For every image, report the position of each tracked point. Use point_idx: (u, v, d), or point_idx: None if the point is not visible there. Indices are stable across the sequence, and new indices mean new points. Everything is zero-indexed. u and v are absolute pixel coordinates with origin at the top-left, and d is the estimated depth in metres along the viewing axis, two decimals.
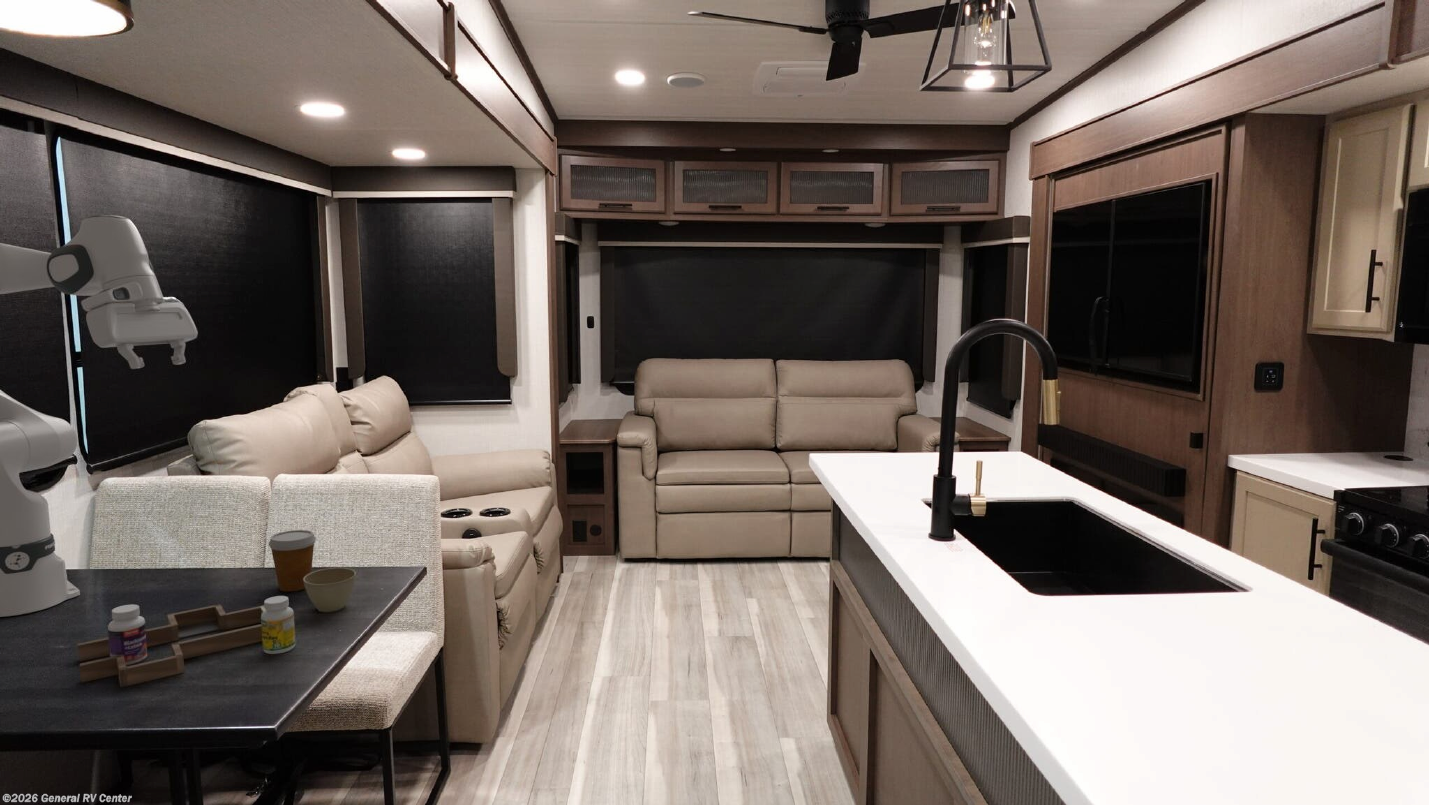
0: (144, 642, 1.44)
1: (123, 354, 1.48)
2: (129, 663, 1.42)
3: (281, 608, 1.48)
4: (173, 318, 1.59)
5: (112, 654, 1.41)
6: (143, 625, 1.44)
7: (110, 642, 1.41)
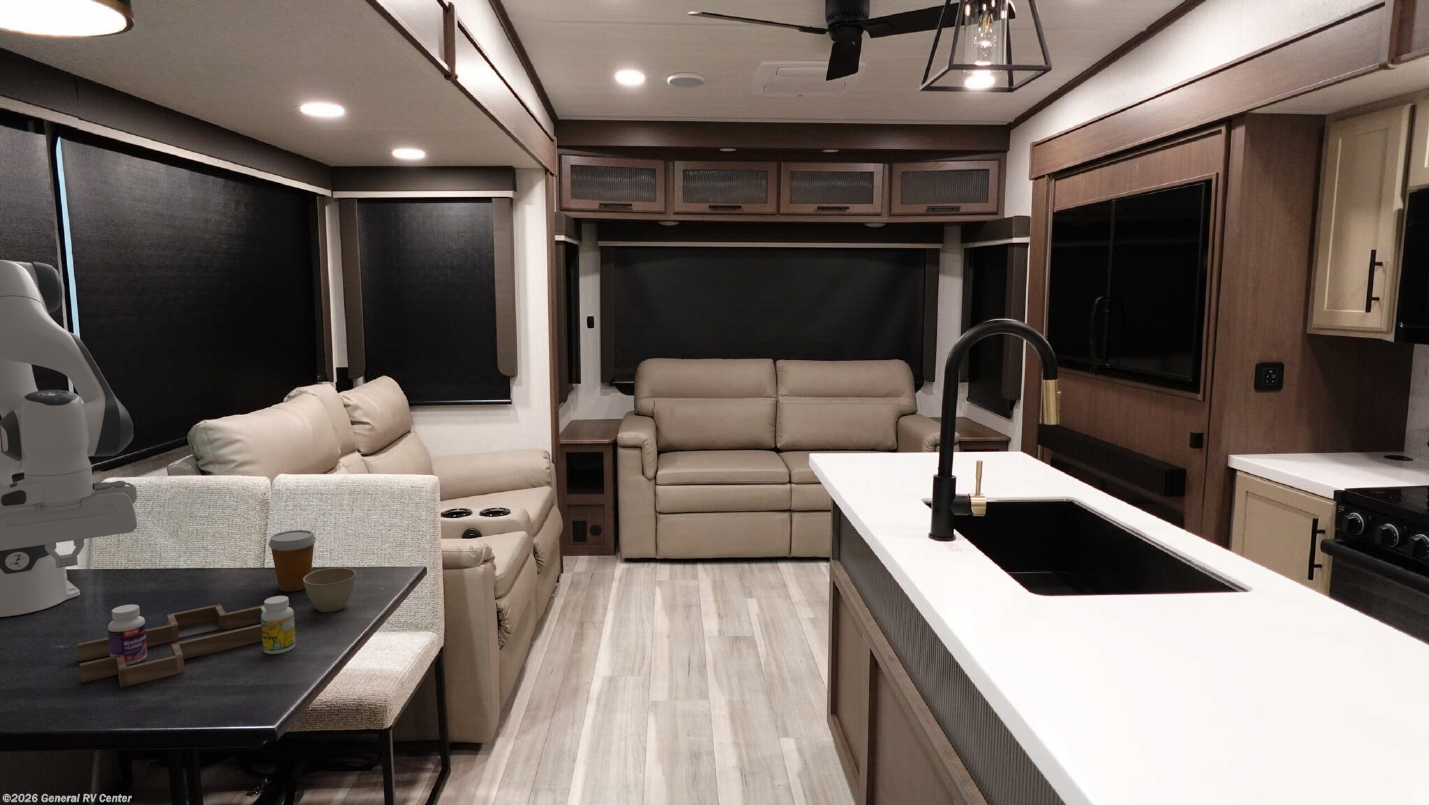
0: (144, 642, 1.44)
1: None
2: (129, 663, 1.42)
3: (281, 608, 1.48)
4: (102, 511, 1.38)
5: (112, 654, 1.41)
6: (143, 625, 1.44)
7: (110, 642, 1.41)
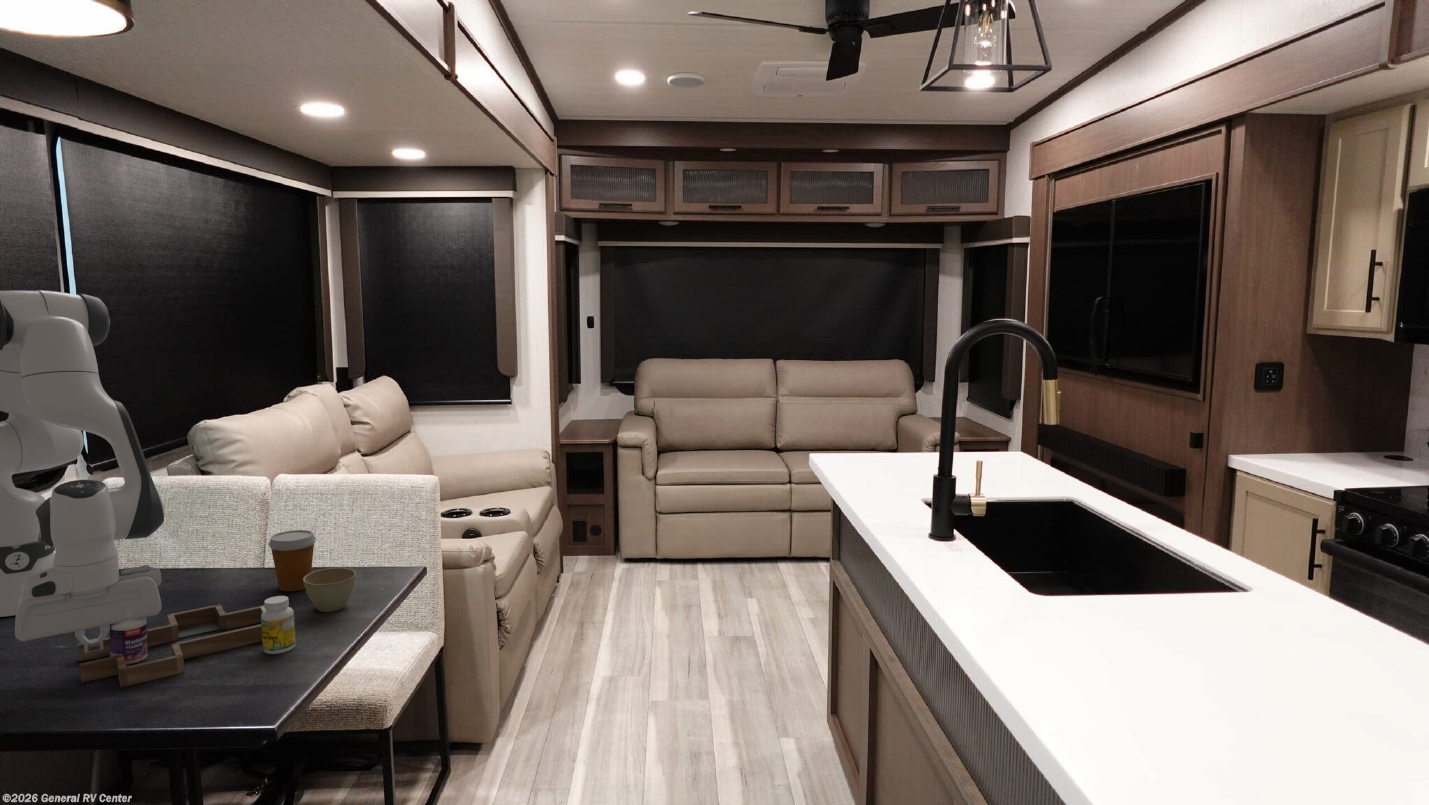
0: (145, 642, 1.44)
1: None
2: (129, 662, 1.42)
3: (281, 608, 1.48)
4: (128, 597, 1.41)
5: (112, 653, 1.41)
6: (145, 625, 1.44)
7: (111, 641, 1.41)
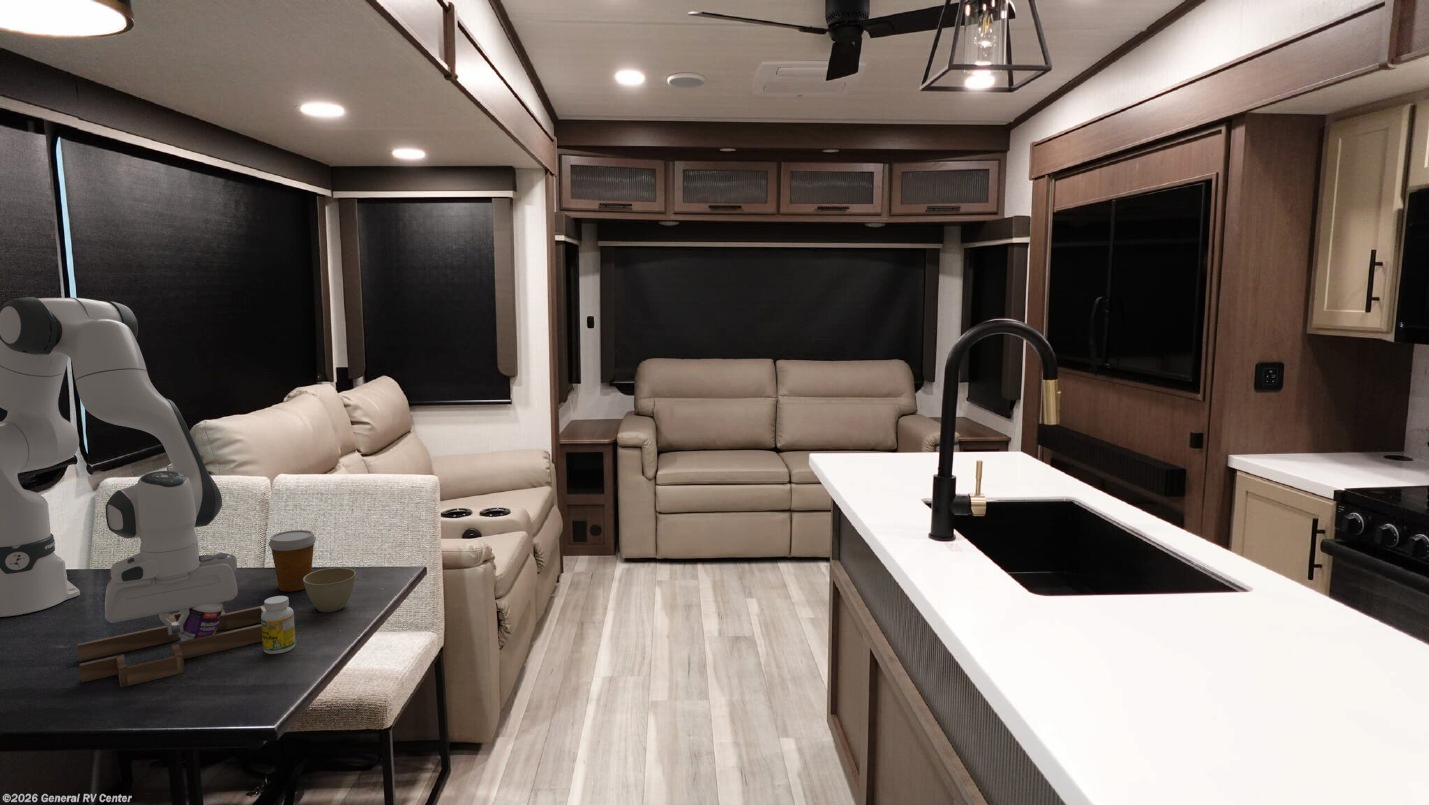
0: (216, 627, 1.51)
1: None
2: None
3: (281, 608, 1.48)
4: (207, 582, 1.49)
5: (186, 632, 1.48)
6: (221, 611, 1.51)
7: (188, 620, 1.48)
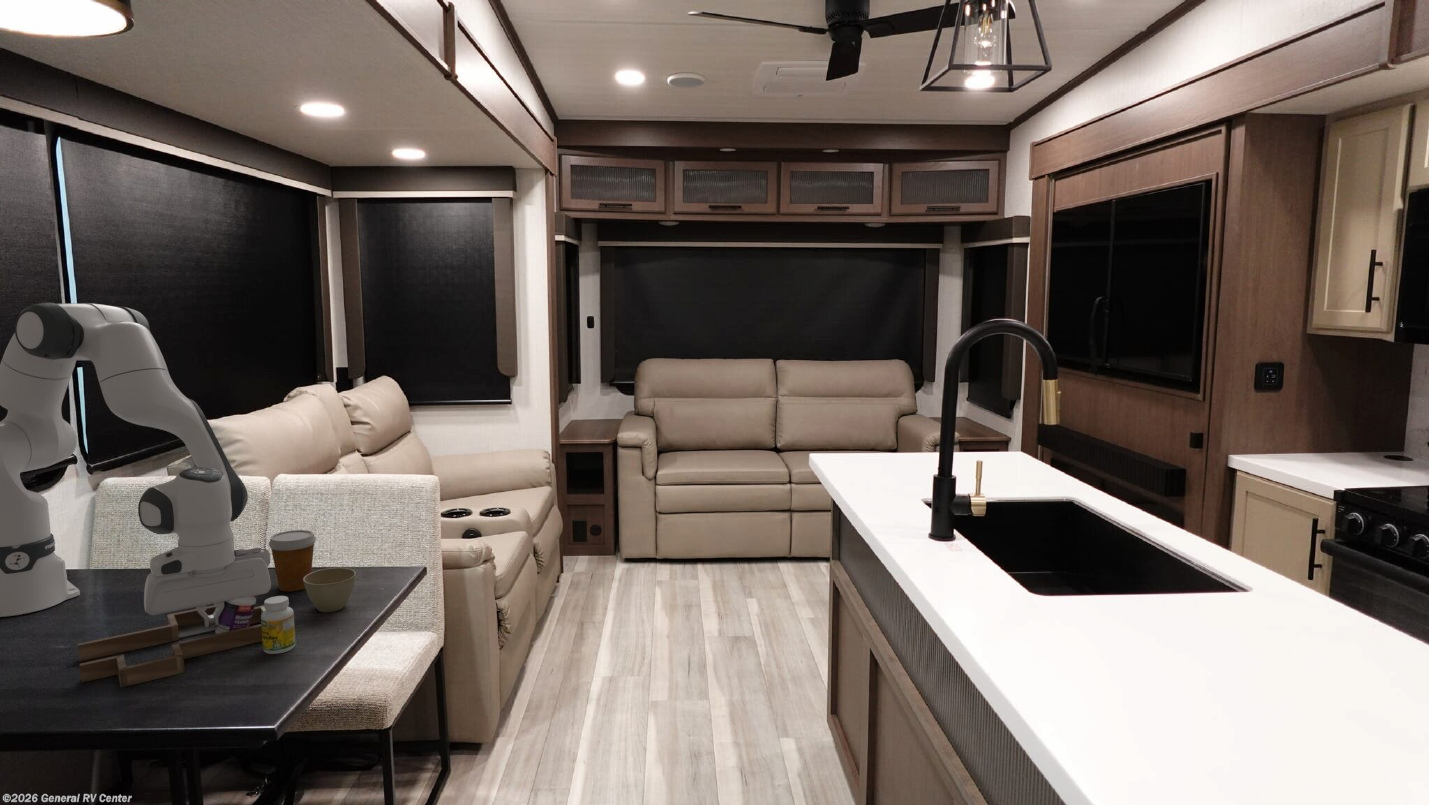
0: (249, 620, 1.55)
1: None
2: None
3: (281, 608, 1.48)
4: (242, 576, 1.52)
5: (220, 624, 1.51)
6: (254, 604, 1.55)
7: (223, 613, 1.52)
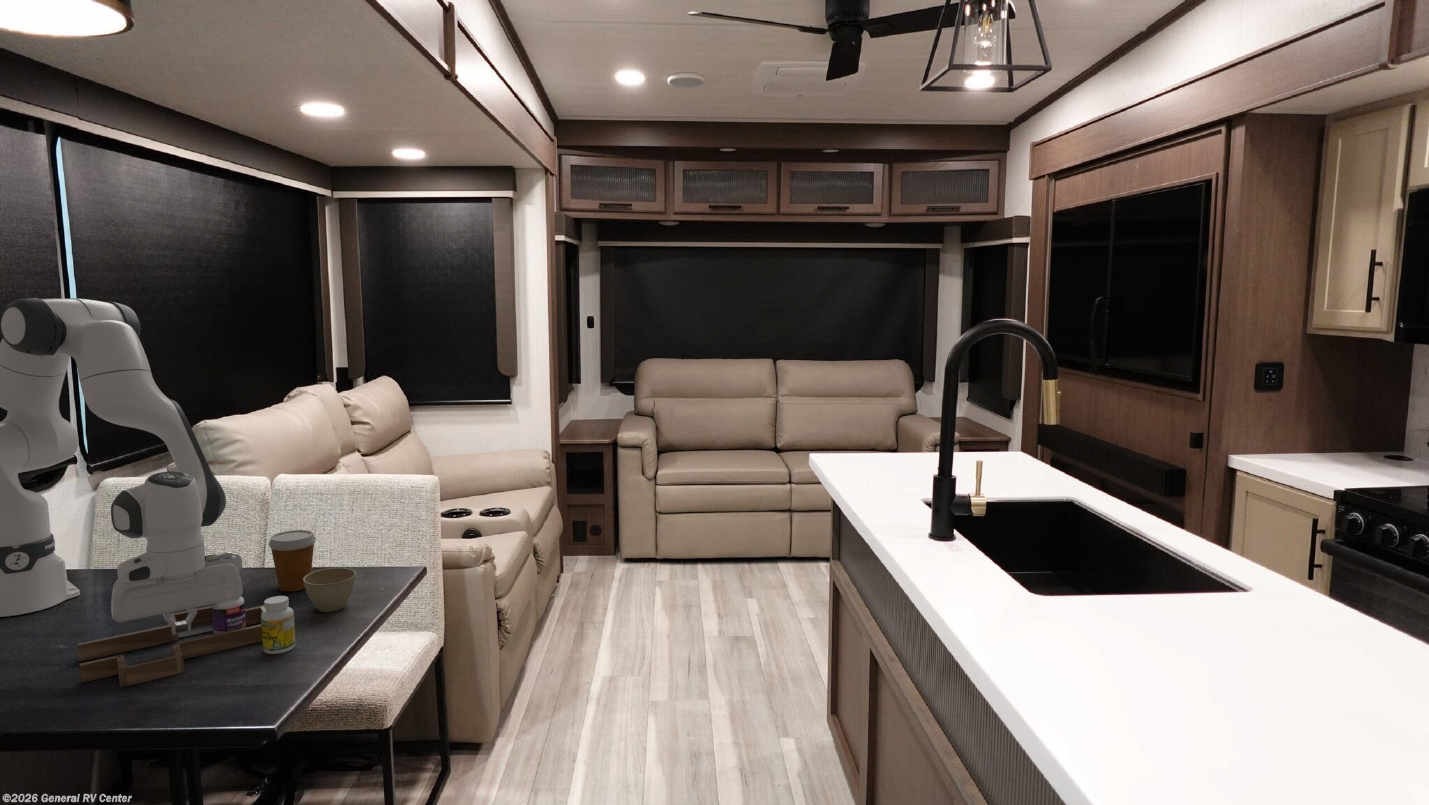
0: (244, 620, 1.54)
1: None
2: None
3: (281, 608, 1.48)
4: (213, 582, 1.50)
5: (215, 631, 1.51)
6: (243, 604, 1.54)
7: (214, 619, 1.51)
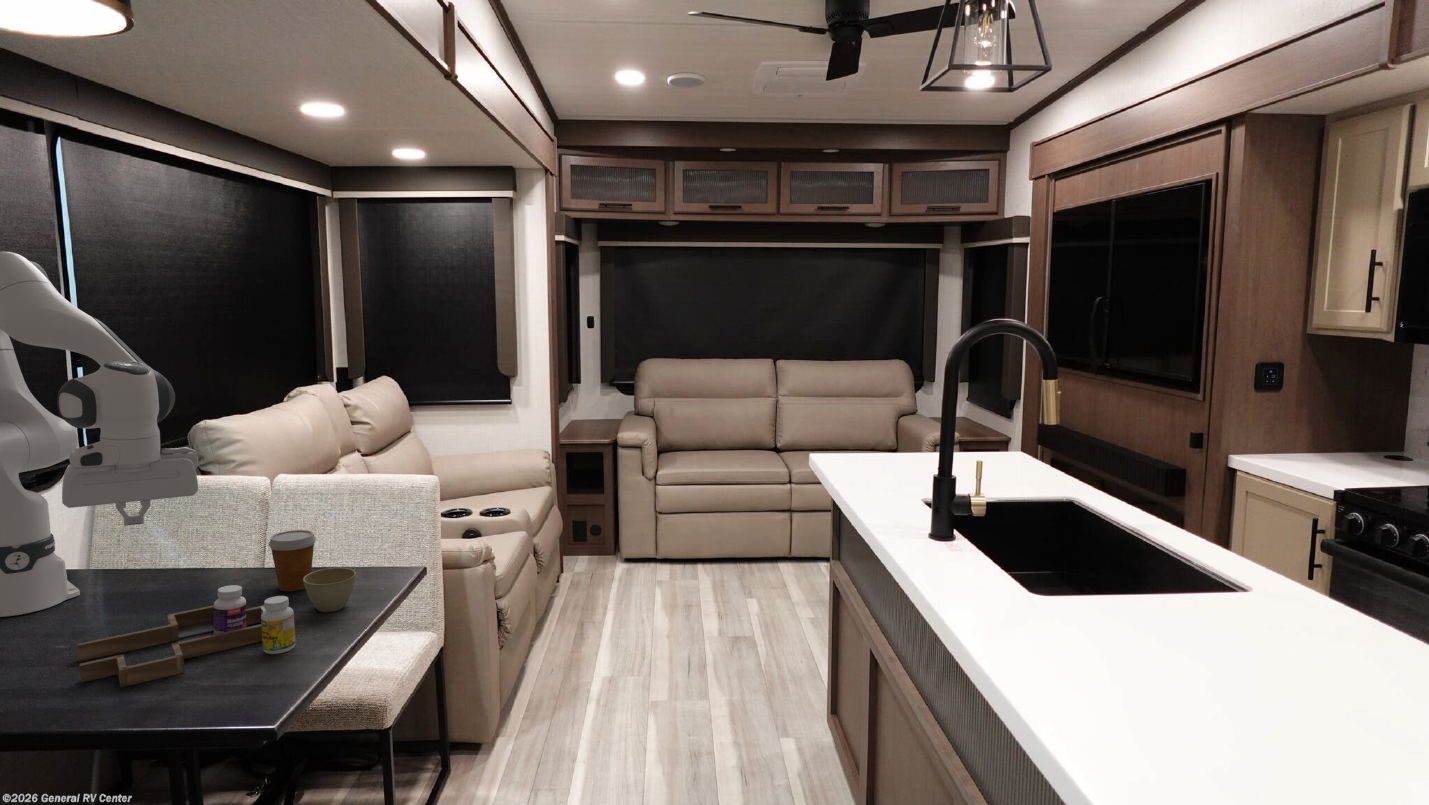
0: (244, 621, 1.54)
1: None
2: None
3: (281, 608, 1.48)
4: (168, 475, 1.49)
5: (215, 630, 1.51)
6: (244, 605, 1.54)
7: (215, 619, 1.51)
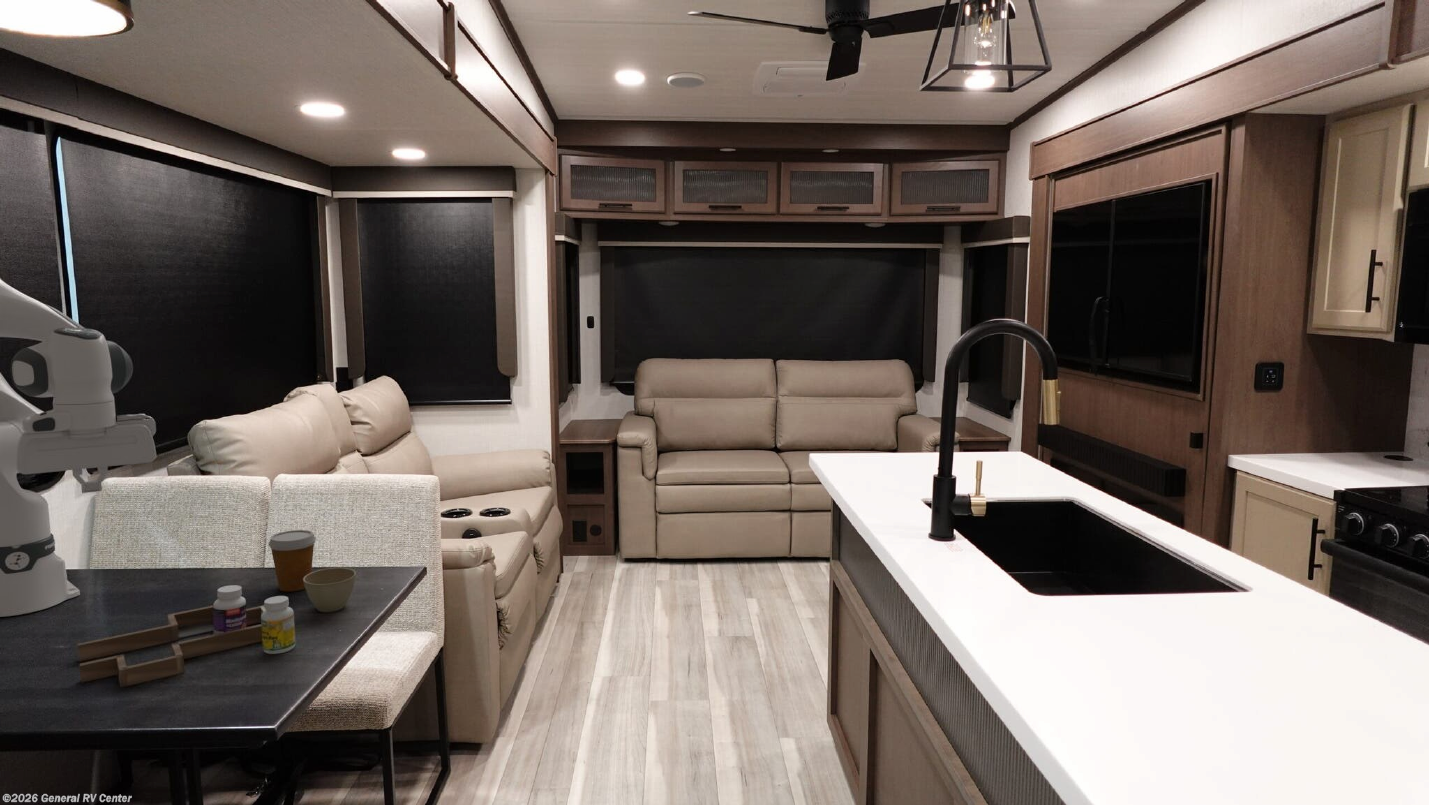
0: (244, 621, 1.54)
1: None
2: None
3: (281, 608, 1.48)
4: (124, 441, 1.48)
5: (215, 630, 1.51)
6: (244, 605, 1.54)
7: (214, 619, 1.51)
